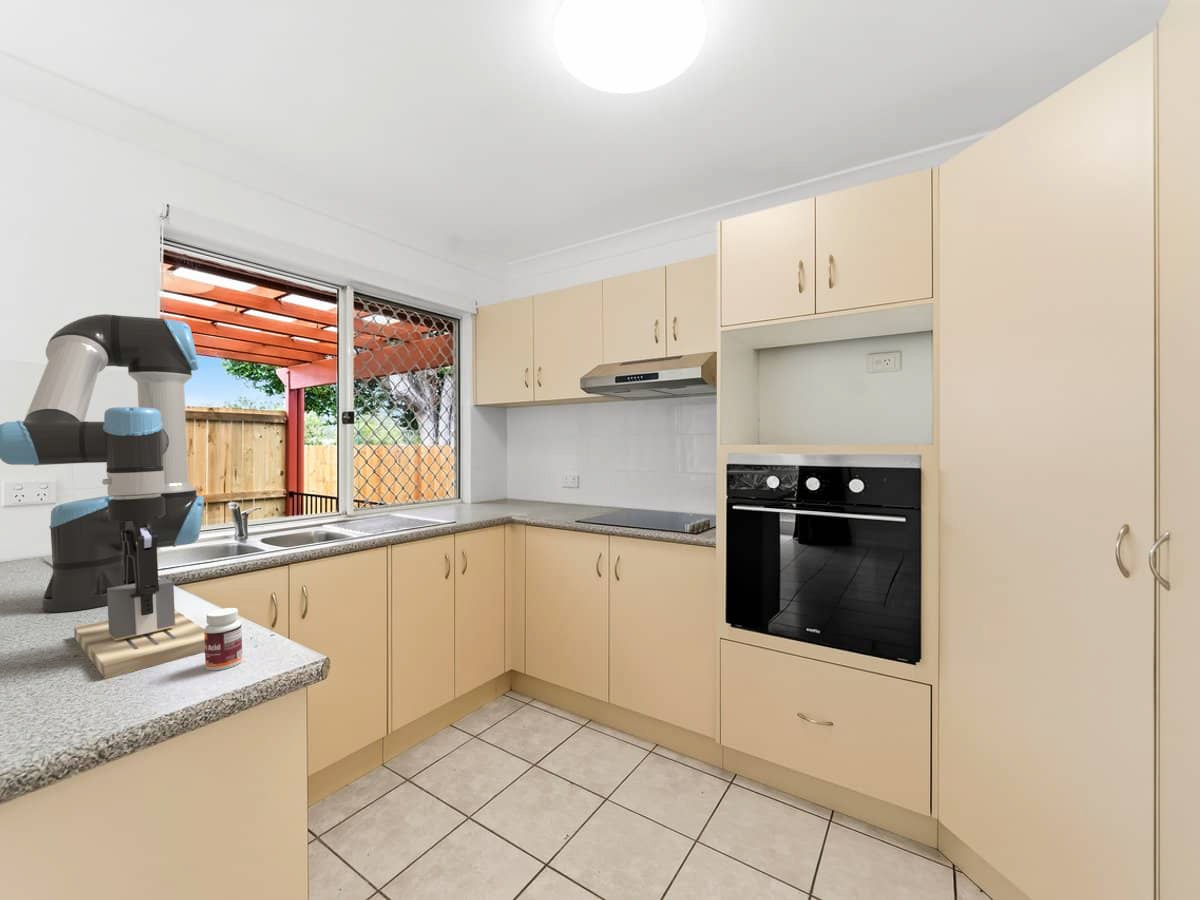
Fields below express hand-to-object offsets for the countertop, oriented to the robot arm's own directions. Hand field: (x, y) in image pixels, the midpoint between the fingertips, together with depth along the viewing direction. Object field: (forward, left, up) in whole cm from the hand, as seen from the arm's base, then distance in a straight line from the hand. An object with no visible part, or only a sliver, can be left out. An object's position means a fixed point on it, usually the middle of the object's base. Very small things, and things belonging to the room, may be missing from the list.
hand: (142, 628), depth 93 cm
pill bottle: (+15, +17, -3) cm, 23 cm away
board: (-1, 0, -3) cm, 3 cm away
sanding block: (0, 0, 0) cm, 0 cm away
